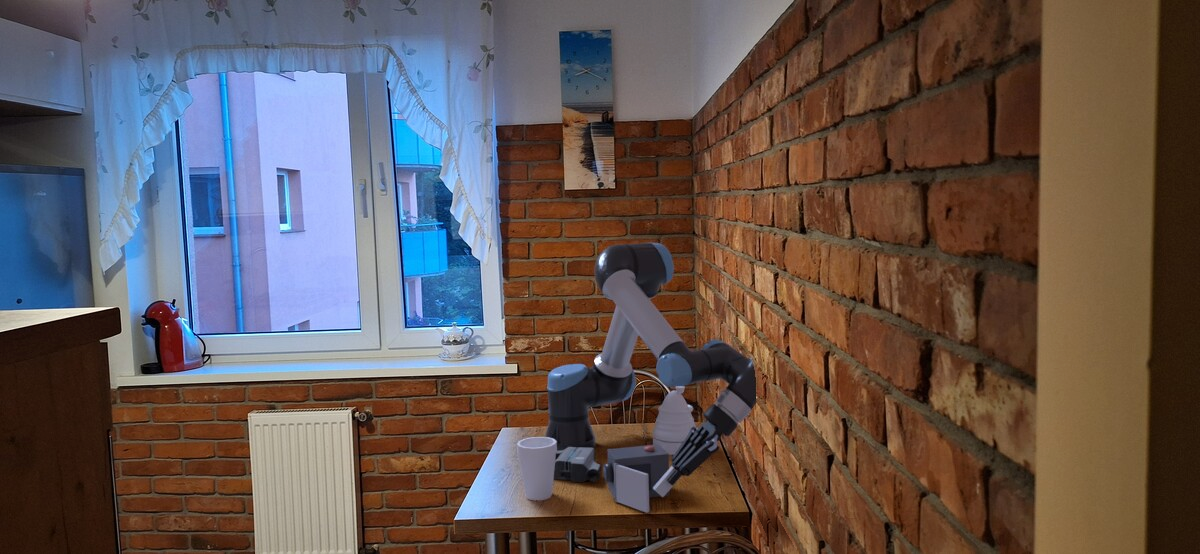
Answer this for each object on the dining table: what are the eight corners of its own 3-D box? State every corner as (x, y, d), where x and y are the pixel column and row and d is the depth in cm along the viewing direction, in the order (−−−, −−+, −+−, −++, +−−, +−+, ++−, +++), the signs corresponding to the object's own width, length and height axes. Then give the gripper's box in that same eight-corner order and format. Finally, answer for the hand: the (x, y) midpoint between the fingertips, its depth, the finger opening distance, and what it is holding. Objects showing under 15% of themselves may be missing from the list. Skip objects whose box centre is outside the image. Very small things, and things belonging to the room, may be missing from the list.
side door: (617, 500, 170) (616, 462, 169) (649, 512, 162) (648, 473, 161) (614, 501, 169) (612, 463, 168) (646, 513, 161) (645, 474, 161)
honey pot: (706, 445, 211) (704, 384, 210) (684, 457, 200) (682, 393, 199) (667, 439, 218) (666, 379, 217) (644, 450, 208) (643, 388, 207)
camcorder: (595, 460, 201) (594, 441, 201) (603, 485, 181) (603, 464, 181) (536, 464, 200) (535, 445, 199) (538, 490, 179) (537, 469, 179)
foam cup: (534, 486, 181) (532, 435, 181) (565, 492, 177) (563, 439, 176) (511, 499, 173) (509, 445, 172) (543, 505, 169) (541, 450, 168)
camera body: (601, 490, 177) (600, 446, 177) (659, 483, 180) (658, 441, 180) (609, 502, 169) (608, 456, 168) (669, 495, 172) (668, 450, 172)
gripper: (704, 396, 172) (638, 473, 169) (725, 409, 159) (654, 492, 156) (726, 416, 173) (660, 492, 171) (749, 431, 160) (678, 513, 158)
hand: (657, 492), depth 164 cm, fingers closed
